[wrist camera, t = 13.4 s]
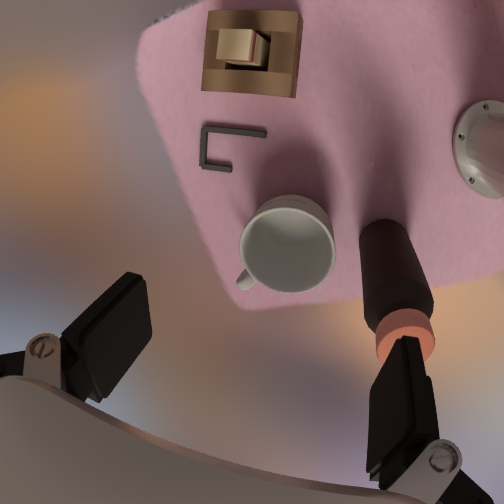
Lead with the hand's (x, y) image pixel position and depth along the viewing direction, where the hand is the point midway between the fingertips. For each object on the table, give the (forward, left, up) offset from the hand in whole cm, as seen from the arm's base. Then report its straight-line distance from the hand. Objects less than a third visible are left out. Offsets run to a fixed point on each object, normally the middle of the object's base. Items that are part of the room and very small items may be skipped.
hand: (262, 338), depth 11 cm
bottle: (-10, +8, -31) cm, 33 cm away
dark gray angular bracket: (+11, 0, -30) cm, 32 cm away
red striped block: (+9, -13, -30) cm, 34 cm away
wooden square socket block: (+9, -13, -30) cm, 34 cm away
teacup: (+3, +10, -31) cm, 32 cm away
